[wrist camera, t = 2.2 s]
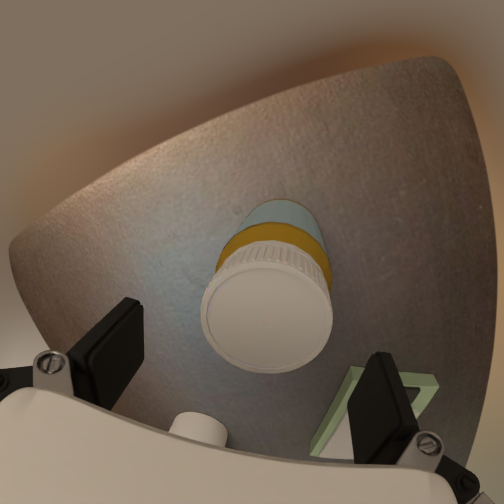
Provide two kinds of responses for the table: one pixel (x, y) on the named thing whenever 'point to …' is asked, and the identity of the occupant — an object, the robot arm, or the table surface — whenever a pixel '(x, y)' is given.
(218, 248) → the table surface
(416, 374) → the scale
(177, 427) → the cup
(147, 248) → the table surface
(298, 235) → the bottle
